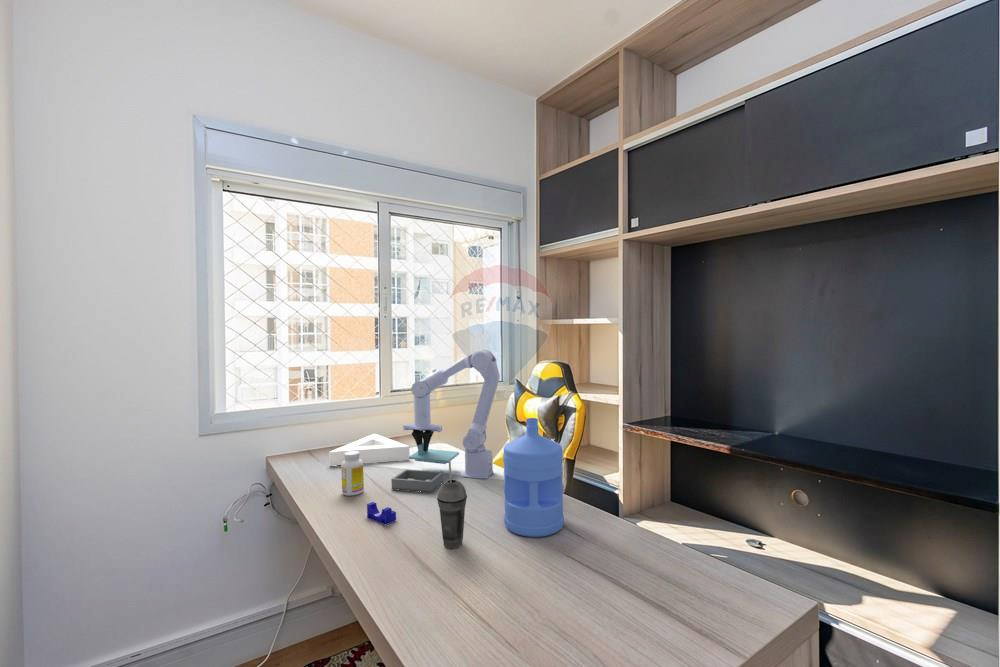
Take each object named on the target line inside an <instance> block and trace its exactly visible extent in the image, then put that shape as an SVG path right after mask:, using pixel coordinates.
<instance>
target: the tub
mask: <svg viewBox="0 0 1000 667" xmlns="http://www.w3.org/2000/svg"><path fill="white" fill-rule="evenodd" d="M444 480H445V478H444V472H443V471H432V470H419V469H404V470H402V471H401V472H399V474H397V475H395V476H394V477H392V478H391V490H392V489H399V490H398V491H401V490H409V491H408V492H412V491H419V492H418V493H424V492H431V493H430V494H432V493H434V492H435V491H436V490H437V489H438V488H439V487H440V486H441V485H442V484H443V482H445V481H444ZM441 483H442V484H441ZM440 484H441V485H440ZM439 485H440V486H439ZM438 486H439V487H438ZM437 487H438V488H437ZM436 488H437V489H436ZM435 489H436V490H435ZM434 490H435V491H434ZM420 491H421V492H420Z"/></svg>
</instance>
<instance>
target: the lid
mask: <svg viewBox="0 0 1000 667" xmlns="http://www.w3.org/2000/svg"><path fill="white" fill-rule="evenodd" d="M422 442H423V441H422ZM459 455H460V452H459V451H452V450H451V451H450V450H443V449H440V450H439V449H432V448H431V449H430V448H428V450H427V451H426V452H425V451H424V442H423V443H421V444H419V445H418V447H417V450H416V452H414V453H413V454H410V456H409V459H410V460H414V461H415V462H423V463H433V464H441V465H442V464H443V465H446V464H449V461H452V460H454V459H455V458H457V457H458V456H459Z"/></svg>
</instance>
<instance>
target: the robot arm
mask: <svg viewBox="0 0 1000 667" xmlns="http://www.w3.org/2000/svg"><path fill="white" fill-rule="evenodd" d="M498 367H499V366H498V363H497V358H496V357H495V355H494V354H493V352H491V351H490V350H488V349H483V350H479V351H478V350H477V351H475V352H474V353H472V354H469V355H468V354H467V355H466V356H464V357H462V358H460V359H459V360H457V361H456V362H455V363H453V364H451V365H449V366H448V367H447V368H445V369H441V368H438V369H436V368H435V369H433V370H432V372H431V373H430V374H427V376H426V375H425V376H422V377H421V380H416V381H415V382H413V384H412V385H411V388H410V390H411V393H412V395H413V404H414V405H413V408H414V409H413V410H414V411H413V412H414V413H413V414H414V423H406V424H403V425H402V426H403V427H402V429H403V431H412V432H411V436H412V437H413V439H414V441H415V444H416V446H417V448H418V445H419V444H421V443H423V442H424V451H425V452H426V451H427V450H428V449H429V447H430V446H429V445H430V441H431V440H432V437H433V435H434V433H435V432H436V433H442V432H443V425H439V424H431V422H432V421H431V393H432V392H434V391H435V390H437V389H439V388H440V387H442V386H444V385H446V384H447V383H448V381H449V378H450V377H452V376H454V375H456V374H457V373H459V372H461V371H463V370H464V369H472V368H473V369H474V370H476V371H478V373H479V374H480V376H481V377H482V378H483V379H484V381H483V384H482V387H481V391H480V394H479V395H480V396H479V398H478V402H477V404H476V405H477V406H476V408H475V413H474V415H473V419H472V422H471V424H470V427H469V428H468V430H467V433H466V434H465V435H464V436H463V438H462V446H463V447H464V472H463V473H462V474H461V478H472V479H486V480H487V479H488V478H489V477H490V476H491V475H492V474H493V473H494V469H493V452H492V450H489V449H486V446H485V444H484V443H485V442H486V440H487V433H486V431H487V423H488V419H489V416H490V413H491V409H492V406H493V403H494V399H495V396H496V392H497V389H498V385H499V382H500V379H501V378H500V377H501V375H500V371H499V368H498Z"/></svg>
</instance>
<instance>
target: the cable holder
mask: <svg viewBox="0 0 1000 667" xmlns="http://www.w3.org/2000/svg"><path fill="white" fill-rule="evenodd" d="M366 514H367V515H366V518H368V519H370V520H372V521H375V522H377V523H381V524H382V523H383V524H382V525H385V524H386V526H387V525H388V523H389V524H391V523H393V522H395V520H396V521H397V511H394V510H392V507H389V506H387V507H385V508H382V509H381V512H380V511H379V509H378V506H377V503H376V502H374V501H371V502H369V503H367V504H366ZM392 521H393V522H392ZM390 522H391V523H390Z"/></svg>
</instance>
